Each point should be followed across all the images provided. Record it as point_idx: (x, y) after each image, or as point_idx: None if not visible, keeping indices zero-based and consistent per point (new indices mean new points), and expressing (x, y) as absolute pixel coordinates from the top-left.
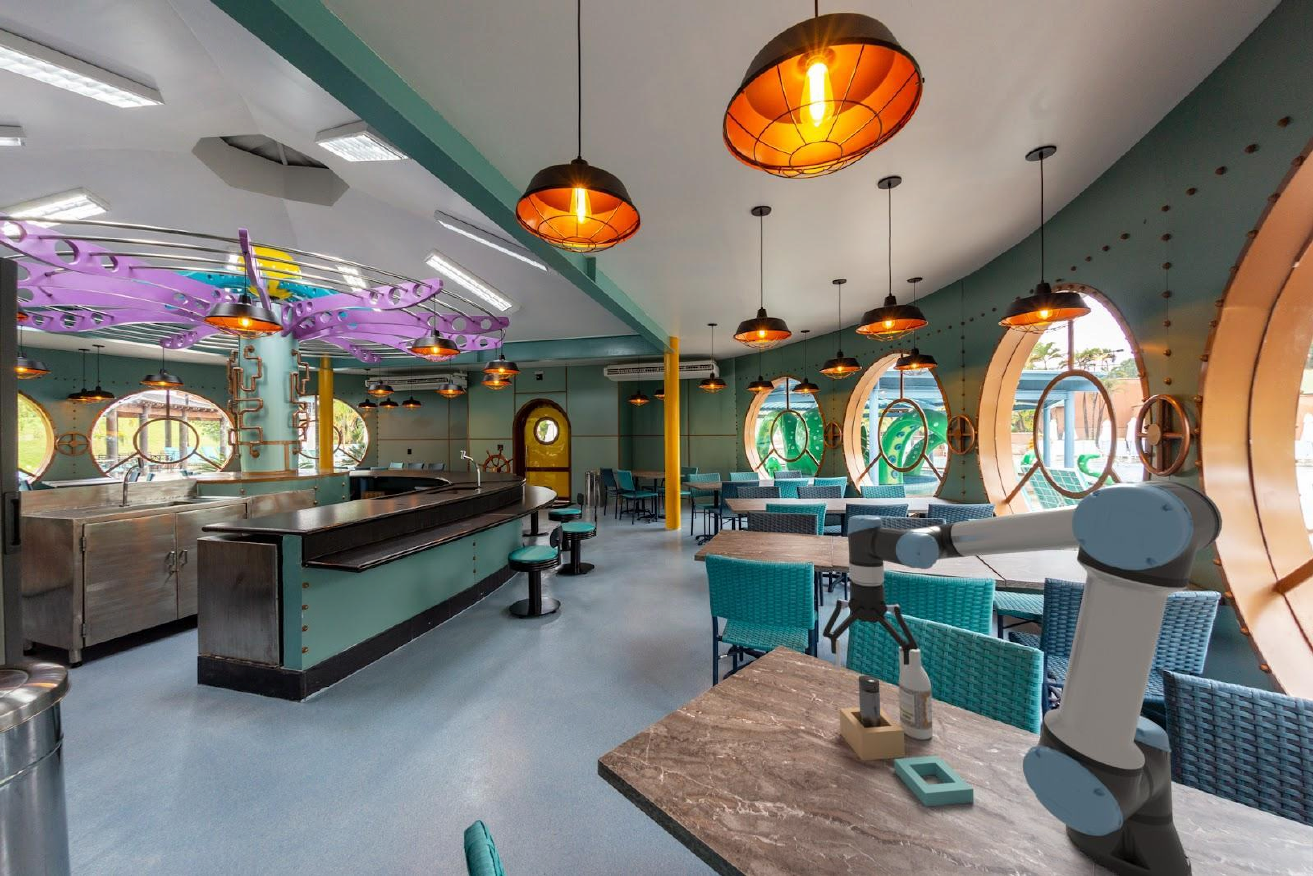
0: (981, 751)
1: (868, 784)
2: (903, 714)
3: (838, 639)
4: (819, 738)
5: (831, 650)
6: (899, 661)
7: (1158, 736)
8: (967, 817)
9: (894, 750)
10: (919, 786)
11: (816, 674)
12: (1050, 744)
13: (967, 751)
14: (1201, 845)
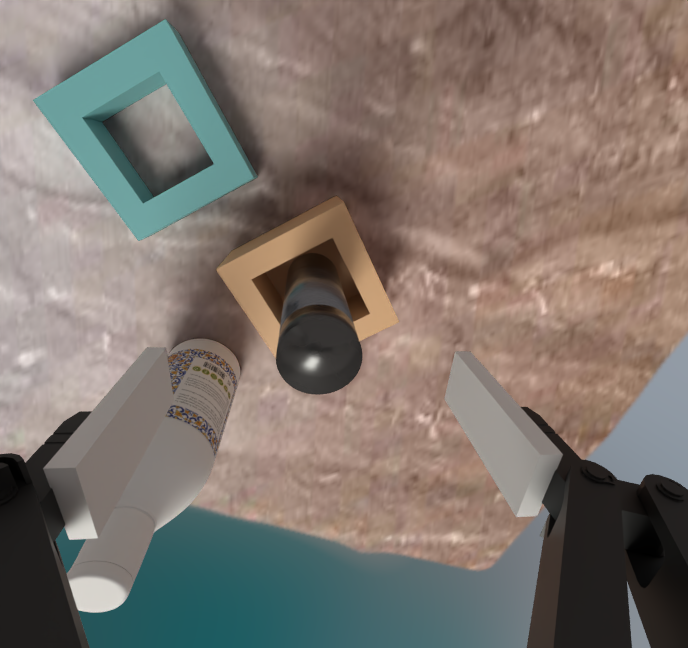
0: (54, 343)
1: (326, 87)
2: (222, 375)
3: (531, 497)
4: (436, 257)
5: (540, 418)
6: (145, 448)
7: None
8: (69, 21)
9: (253, 241)
10: (183, 52)
11: (420, 509)
12: None
13: (86, 331)
14: None
